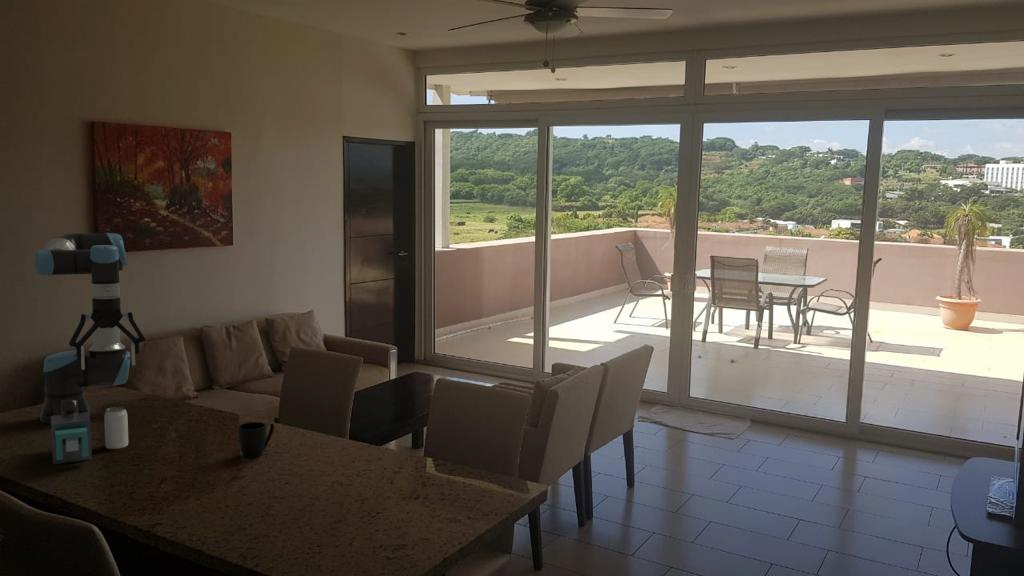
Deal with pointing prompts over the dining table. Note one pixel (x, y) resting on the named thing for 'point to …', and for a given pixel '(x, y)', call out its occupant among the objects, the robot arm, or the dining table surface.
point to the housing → (65, 424)
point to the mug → (253, 438)
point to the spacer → (71, 434)
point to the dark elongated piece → (70, 408)
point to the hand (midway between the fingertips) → (108, 366)
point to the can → (116, 428)
